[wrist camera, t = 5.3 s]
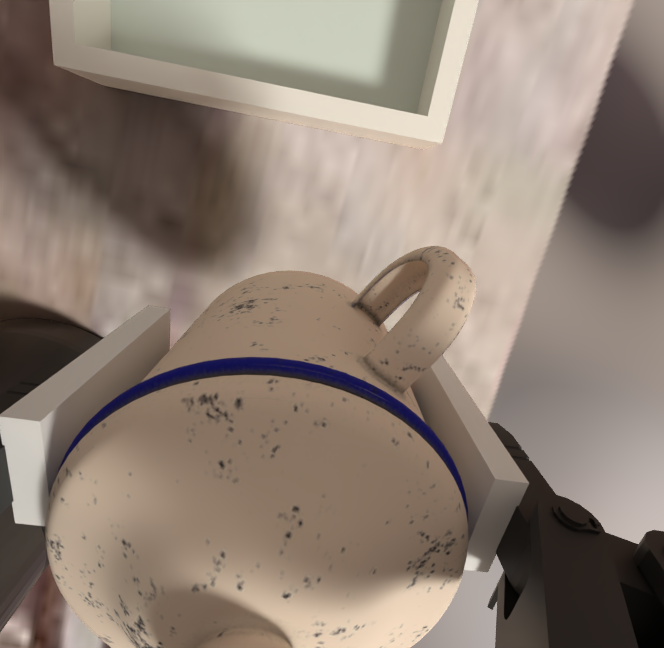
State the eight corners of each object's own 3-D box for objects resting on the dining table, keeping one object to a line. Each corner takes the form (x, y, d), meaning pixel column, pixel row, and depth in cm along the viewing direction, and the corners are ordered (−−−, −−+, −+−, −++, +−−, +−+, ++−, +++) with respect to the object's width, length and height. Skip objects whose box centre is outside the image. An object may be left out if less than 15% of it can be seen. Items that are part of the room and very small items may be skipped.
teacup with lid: (311, 481, 19) (292, 903, 8) (147, 379, 16) (-197, 773, 6) (492, 301, 15) (890, 595, 5) (319, 145, 13) (298, 2, 2)
